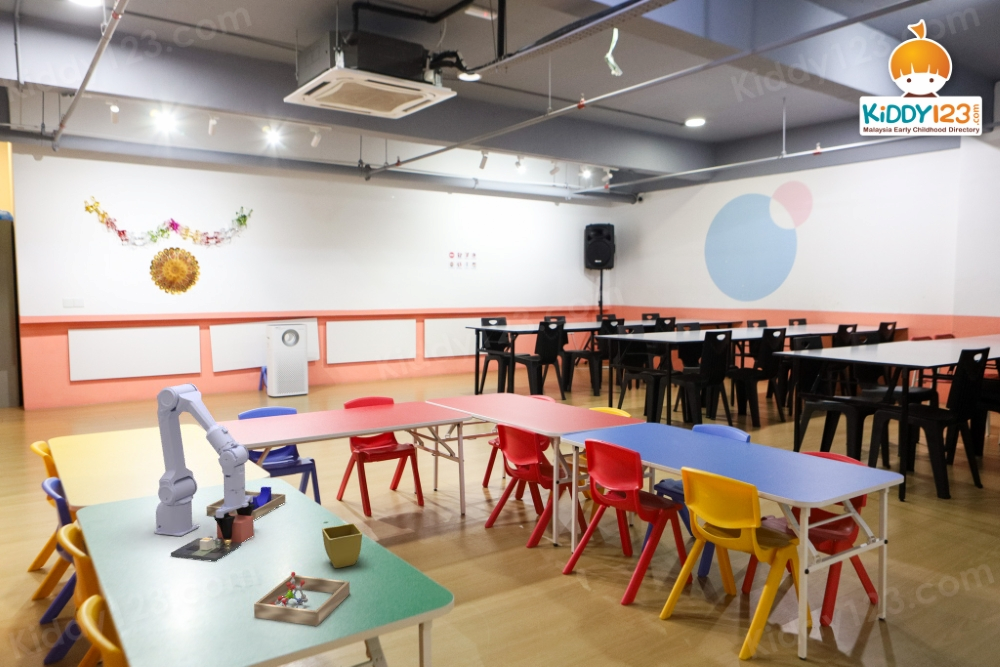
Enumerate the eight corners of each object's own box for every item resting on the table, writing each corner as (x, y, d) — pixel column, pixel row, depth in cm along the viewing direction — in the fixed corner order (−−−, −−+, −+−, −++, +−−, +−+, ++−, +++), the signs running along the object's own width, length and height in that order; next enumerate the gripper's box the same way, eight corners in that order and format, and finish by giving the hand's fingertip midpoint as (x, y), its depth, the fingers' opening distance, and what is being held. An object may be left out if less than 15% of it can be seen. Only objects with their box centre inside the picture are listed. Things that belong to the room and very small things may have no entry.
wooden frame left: (206, 515, 210) (206, 506, 209) (240, 498, 226) (240, 490, 226) (254, 520, 206) (254, 511, 205) (285, 503, 222) (285, 494, 222)
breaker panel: (170, 556, 178) (170, 548, 178) (198, 541, 189) (198, 533, 188) (215, 561, 175) (215, 553, 175) (241, 546, 185) (241, 538, 185)
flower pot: (329, 573, 168) (329, 539, 168) (321, 560, 176) (321, 528, 175) (363, 566, 172) (362, 533, 172) (354, 554, 180) (354, 522, 180)
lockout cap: (217, 540, 189) (216, 520, 189) (229, 533, 195) (229, 513, 194) (241, 543, 187) (241, 523, 187) (253, 536, 193) (253, 516, 192)
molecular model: (298, 597, 155) (298, 567, 155) (312, 610, 149) (312, 578, 149) (268, 606, 151) (268, 575, 150) (281, 620, 145) (281, 587, 144)
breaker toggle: (199, 549, 180) (199, 539, 179) (205, 546, 182) (205, 536, 182) (207, 550, 179) (207, 540, 179) (213, 547, 181) (213, 537, 181)
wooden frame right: (254, 617, 146) (254, 604, 146) (291, 586, 161) (291, 574, 161) (317, 625, 142) (317, 612, 142) (349, 593, 157) (349, 581, 157)
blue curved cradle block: (258, 503, 222) (258, 486, 222) (271, 504, 222) (271, 487, 221) (241, 516, 210) (240, 497, 210) (254, 516, 210) (254, 498, 209)
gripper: (230, 496, 182) (231, 544, 183) (261, 481, 196) (262, 526, 197) (208, 494, 184) (209, 542, 184) (240, 480, 198) (241, 524, 199)
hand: (235, 533), depth 191 cm, fingers open, 7 cm apart
